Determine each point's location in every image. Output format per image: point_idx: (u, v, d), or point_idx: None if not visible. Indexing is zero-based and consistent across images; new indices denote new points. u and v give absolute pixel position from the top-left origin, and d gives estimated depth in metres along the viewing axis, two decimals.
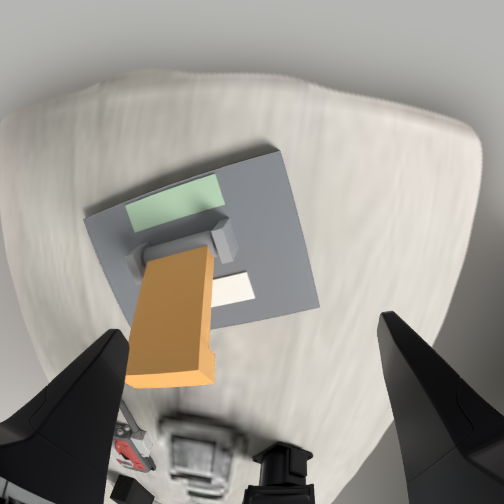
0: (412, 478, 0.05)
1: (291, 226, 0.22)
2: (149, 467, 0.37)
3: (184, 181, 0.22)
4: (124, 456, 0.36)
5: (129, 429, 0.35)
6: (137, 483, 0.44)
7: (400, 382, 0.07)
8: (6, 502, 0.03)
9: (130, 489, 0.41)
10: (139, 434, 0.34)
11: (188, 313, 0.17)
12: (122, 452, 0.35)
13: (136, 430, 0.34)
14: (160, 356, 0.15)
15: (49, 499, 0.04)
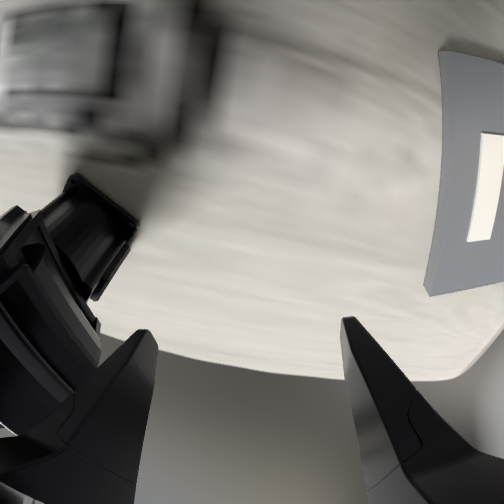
0: (370, 488, 0.05)
1: (496, 277, 0.19)
2: None
3: None
4: None
5: None
6: None
7: (356, 390, 0.07)
8: None
9: None
10: None
11: None
12: None
13: None
14: None
15: None
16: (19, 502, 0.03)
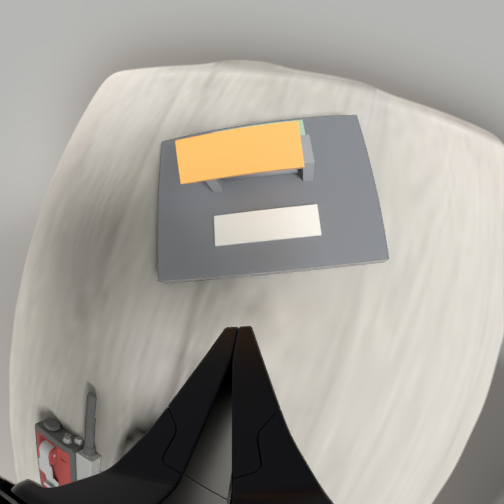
0: None
1: (363, 170, 0.22)
2: None
3: (274, 122, 0.24)
4: (53, 475, 0.20)
5: (80, 443, 0.22)
6: None
7: None
8: None
9: None
10: (91, 453, 0.21)
11: None
12: (54, 469, 0.20)
13: (90, 446, 0.21)
14: None
15: None
16: None
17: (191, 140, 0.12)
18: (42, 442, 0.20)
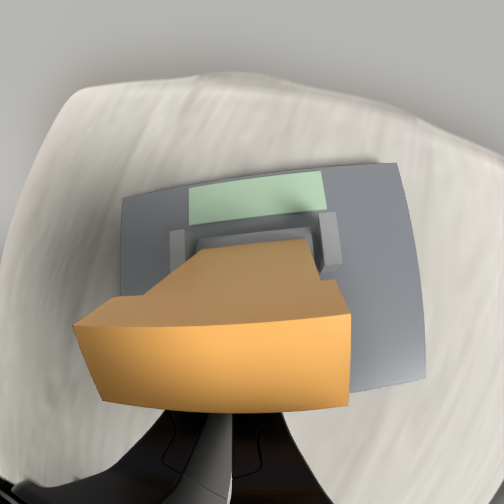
0: None
1: (405, 253, 0.15)
2: None
3: (278, 174, 0.17)
4: None
5: None
6: None
7: None
8: None
9: None
10: None
11: (286, 274, 0.08)
12: None
13: None
14: (220, 302, 0.06)
15: None
16: None
17: (100, 332, 0.05)
18: None
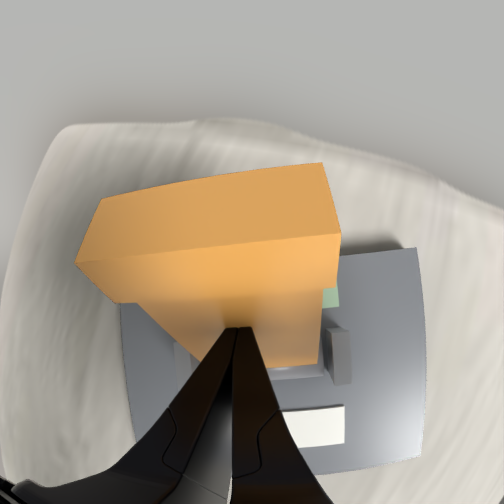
0: None
1: (415, 348, 0.14)
2: None
3: None
4: None
5: None
6: None
7: None
8: None
9: None
10: None
11: None
12: None
13: None
14: None
15: None
16: None
17: (123, 197, 0.07)
18: None
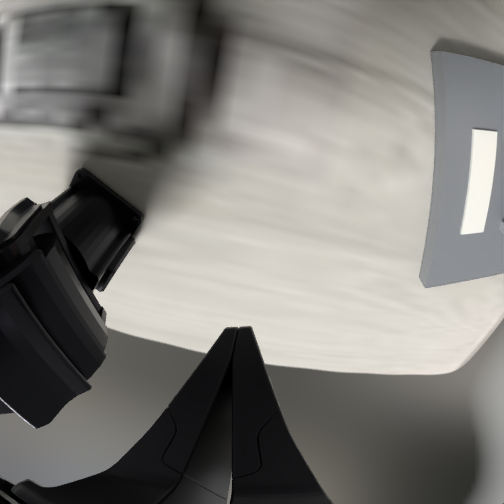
0: None
1: (490, 270, 0.20)
2: None
3: None
4: None
5: None
6: None
7: None
8: None
9: None
10: None
11: None
12: None
13: None
14: None
15: None
16: None
17: None
18: None
